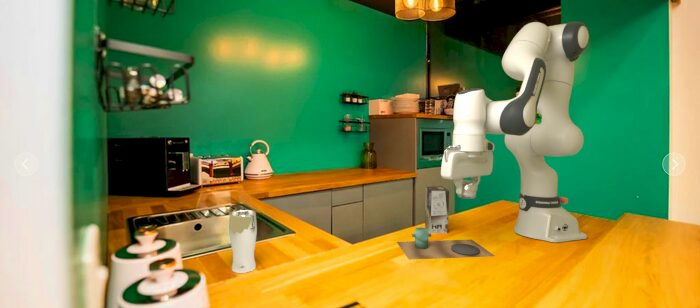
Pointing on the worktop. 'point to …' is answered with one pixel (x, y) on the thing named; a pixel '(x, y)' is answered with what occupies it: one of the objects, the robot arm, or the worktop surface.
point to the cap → (468, 189)
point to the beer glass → (243, 240)
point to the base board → (435, 247)
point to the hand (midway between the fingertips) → (466, 192)
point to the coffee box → (437, 209)
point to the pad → (465, 249)
